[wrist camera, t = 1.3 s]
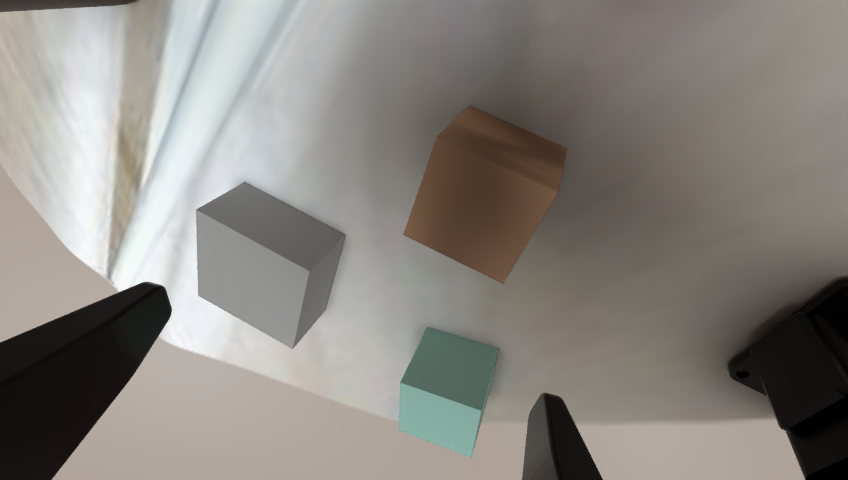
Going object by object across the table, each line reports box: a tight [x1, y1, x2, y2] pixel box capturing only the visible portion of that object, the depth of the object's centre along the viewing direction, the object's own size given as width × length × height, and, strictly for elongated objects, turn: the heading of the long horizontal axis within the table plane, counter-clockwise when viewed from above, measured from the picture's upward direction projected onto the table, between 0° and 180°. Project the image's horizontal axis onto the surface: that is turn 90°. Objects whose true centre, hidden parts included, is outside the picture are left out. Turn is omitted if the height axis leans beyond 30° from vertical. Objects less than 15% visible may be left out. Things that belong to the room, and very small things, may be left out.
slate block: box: [196, 182, 346, 349], centre depth 25 cm, size 7×7×4 cm
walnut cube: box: [403, 106, 567, 283], centre depth 17 cm, size 4×4×4 cm
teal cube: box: [399, 327, 499, 458], centre depth 25 cm, size 4×4×4 cm
